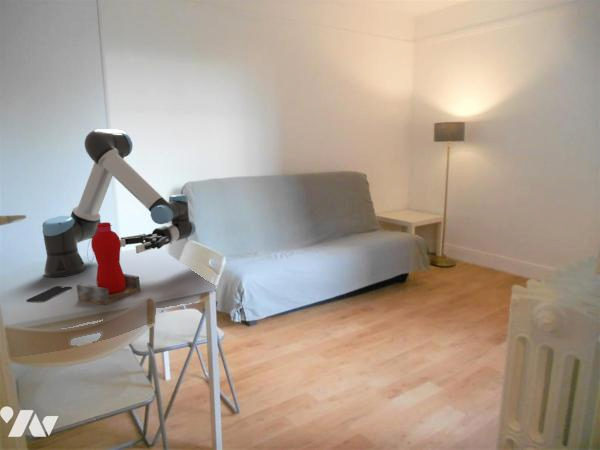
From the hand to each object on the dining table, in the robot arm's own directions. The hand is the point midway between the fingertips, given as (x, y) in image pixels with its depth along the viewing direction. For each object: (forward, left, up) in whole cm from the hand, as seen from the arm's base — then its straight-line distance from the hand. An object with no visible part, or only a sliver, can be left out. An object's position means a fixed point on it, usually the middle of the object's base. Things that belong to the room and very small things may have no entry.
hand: (123, 247), depth 152 cm
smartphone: (-22, -16, -16) cm, 32 cm away
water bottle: (0, -8, -14) cm, 16 cm away
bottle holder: (0, -8, -16) cm, 18 cm away
